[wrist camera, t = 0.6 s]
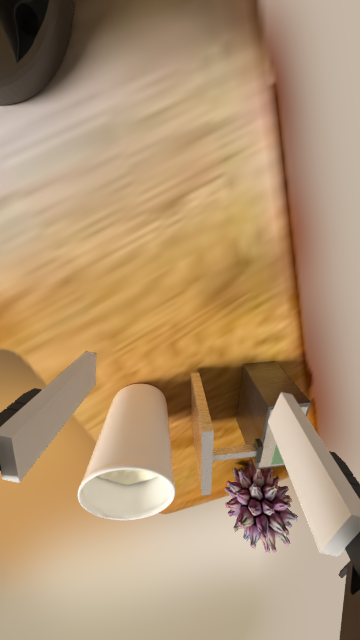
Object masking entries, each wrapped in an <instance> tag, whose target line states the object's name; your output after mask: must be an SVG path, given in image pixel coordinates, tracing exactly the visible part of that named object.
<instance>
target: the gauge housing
mask: <svg viewBox="0 0 360 640" xmlns="http://www.w3.org/2000/svg"><path fill="white" fill-rule="evenodd" d="M281 392H283V393H288V394H292V395H293V396H294V398H295V400H296V401H297V403H298V404H299V406H300V407H301V409H302V410H303V412H304V414H305V415H306V416H307V413H308V410H309V407H310V404H311V402H310V401H309V400H308V399H307V397H306V396H305V395H304V394H303V393H302V392H301V390H300V389H299V388H298V387H297V386H296V385H295V383H294V382H293V381H292V380H291V379H290V378H289V377H288V375H287V374H286V373H285V372H284V371H283V370H282V368H281V367H280V366H279V365H278V364H277V363H276V361H274V362H262V363H250V364H243V369H242V378H241V386H240V395H239V404H238V412H237V422H238V425H239V427H240V430H241V432H242V435H243V438H244V440H245V443H246V445H253V444H254V441H255V439H260V440H261V442H262V444H263V446H264V448H263V452H262V457H261V462H260V463H255V461H254V458H253V457H251V458H252V461H253V463H254V466H255V468H256V469H262V468H271V467H280V466H285V464H284V461H283V459H282V456H281V454H280V451H279V449H278V446H277V444H276V441H275V439H274V436H273V434H272V431H271V429H270V426H269V424H268V420H269V418H270V416H271V413H272V411H273V409H274V407H275V404H276V402H277V400H278V398H279V395H280V393H281Z"/></svg>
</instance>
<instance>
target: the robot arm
mask: <svg viewBox="0 0 360 640" xmlns="http://www.w3.org/2000/svg"><path fill="white" fill-rule="evenodd" d="M73 6H74V0H0V105H5V104H13V103H17V102H21V101H23V100H26V99H28V98H30V97H32V96H33V95H35V94H36V93H38V92H39V91H40V90H41V89H43V88H44V87H45V86H46V85H47V84H48V82H49V81H50V80H51V79H52V77H53V76H54V74H55V73H56V71H57V70H58V68H59V66H60V64H61V62H62V59H63V57H64V54H65V52H66V48H67V45H68V41H69V37H70V32H71V27H72V19H73ZM95 383H96V353H93V352H88V351H86V352H84V353H83V354H82V355H81V356H80V357H79V358H78V359H77V360H75V361H74V362H73V363H72V364H71V365H70V366H69V367H68V368H66V369H65V370H64V371H63V372H62V373H61V374H60V375H58V376H57V377H56V378H55V379H54V380H53V381H52V382H51V383H49V384H48V385H47V386H46V387H45V388H44V389H43V390H41V389H36V388H35V389H32V390H31V391H28V392H26V393H24V394H23V395H22V396H20V397H19V398H18V399H17V400H15V402H14V403H12V404H11V405H9V406H8V407H7V409H4V410H3V411H2V412H1V413H0V471H1V474H2V479H5V480H9V481H13V482H17V483H20V481H21V480H22V479H23V477H24V476H25V475H26V474H27V472H28V471H29V470H30V468H31V467H32V466H33V464H34V463H35V462H36V461H37V459H38V458H39V457H40V455H41V454H42V453H43V452H44V450H45V449H46V448H47V447H48V445H49V444H50V443H51V441H52V440H53V439H54V438H55V436H56V435H57V434H58V432H59V431H60V430H61V428H62V427H63V426H64V425H65V423H66V422H67V421H68V419H69V418H70V417H71V416H72V414H73V413H74V412H75V410H76V409H77V408H78V407H79V405H80V404H81V403H82V401H83V400H84V399H85V398H86V396H87V395H88V394H89V392H90V391H91V390H92V389H93V387H94V386H95ZM268 424H269V426H270V429H271V431H272V434H273V436H274V439H275V441H276V444H277V446H278V449H279V451H280V454H281V456H282V459H283V461H284V464H285V466H286V469H287V471H288V474H289V476H290V479H291V481H292V484H293V486H294V489H295V491H296V494H297V496H298V499H299V502H300V504H301V507H302V509H303V512H304V514H305V516H306V519H307V522H308V524H309V527H310V529H311V532H312V534H313V537H314V539H315V542H316V544H317V546H318V549H319V552H320V553H324V554H328V555H333V556H337V557H338V556H339V555H340V554H341V553H342V552H343V551H344V550H345V549H346V551H347V554H348V555H349V558H350V560H351V561H350V562H349V563H348V564H347V565H346V566H345V567H344V568H343V569H342V570H341V571H340V573H339V576H340V577H341V578H343V577H344V576H345V575H346V574H347V575H346V584H345V595H344V603H343V612H342V622H341V631H340V640H360V484H359V482H358V481H357V480H356V478H355V477H353V474H352V472H351V471H350V469H349V468H348V466H347V465H346V463H345V462H344V461H342V459H341V458H339V456H337V454H336V453H334V452H330V451H328V449H327V448H326V446H325V445H324V443H323V442H322V440H321V438H320V437H319V435H318V434H317V432H316V431H315V429H314V428H313V426H312V424H311V423H310V421H309V420H308V418H307V417H306V415H305V414H304V412H303V410H302V409H301V407H300V406H299V404H298V403H297V401H296V400H295V398H294V396H293V395H292V394H288V393H283V392H281V393H280V395H279V398H278V400H277V402H276V404H275V407H274V409H273V411H272V413H271V416H270V418H269V420H268Z"/></svg>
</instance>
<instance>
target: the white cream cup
mask: <svg viewBox="0 0 360 640" xmlns="http://www.w3.org/2000/svg"><path fill="white" fill-rule="evenodd" d="M175 492H176V488H175V483H174V474H173V463H172V452H171V441H170V430H169V420H168V409H167V402H166V398H165V396H164V394H163V393H162V392H161V391H160V390H159V389H158V388H156V387H154V386H151V385H148V384H132V385H129V386H126V387H124V388H122V389H121V390H120V391H119V392H118V393H117V394H116V395H115V397H114V399H113V402H112V404H111V407H110V409H109V412H108V415H107V417H106V420H105V422H104V425H103V428H102V430H101V433H100V436H99V438H98V441H97V444H96V447H95V449H94V452H93V455H92V457H91V460H90V462H89V465H88V468H87V471H86V473H85V476H84V478H83V481H82V483H81V484H80V487H79V490H78V500H79V502H80V504H81V505H82V506H83V508H84V509H86V510H87V511H88V512H90V513H92V514H94V515H96V516H99V517H103V518H107V519H113V520H133V519H140V518H144V517H148V516H151V515H154V514H156V513H158V512H160V511H162V510H164V509H165V508H166V507H168V506H169V505H170V503H171V502H172V501H173V499H174V497H175Z"/></svg>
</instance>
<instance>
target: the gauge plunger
mask: <svg viewBox="0 0 360 640" xmlns="http://www.w3.org/2000/svg"><path fill="white" fill-rule="evenodd" d="M191 405H192V433H193V440H194V447H195V454H196V460H197V467H198V474H199V481H200V488H201V495H209V494H211V482H212V461H217V460H227V459H236V458H245V457H253V458H254V461H255V463H260V462H261V457H262V452H263V448H264V446H263V444H262V442H261V440H260V439H255V441H254V444H253V445H243V446H234V447H224V448H215V449H213V439H214V429H213V425H212V421H211V417H210V413H209V409H208V406H207V402H206V398H205V394H204V390H203V386H202V382H201V378H200V374H199V372H197V373H191Z"/></svg>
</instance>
